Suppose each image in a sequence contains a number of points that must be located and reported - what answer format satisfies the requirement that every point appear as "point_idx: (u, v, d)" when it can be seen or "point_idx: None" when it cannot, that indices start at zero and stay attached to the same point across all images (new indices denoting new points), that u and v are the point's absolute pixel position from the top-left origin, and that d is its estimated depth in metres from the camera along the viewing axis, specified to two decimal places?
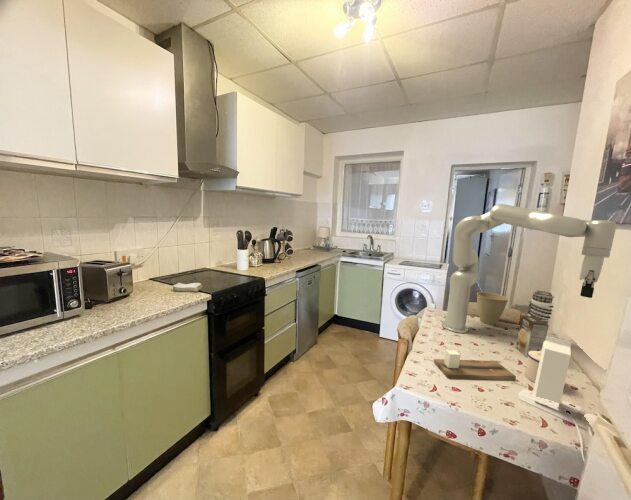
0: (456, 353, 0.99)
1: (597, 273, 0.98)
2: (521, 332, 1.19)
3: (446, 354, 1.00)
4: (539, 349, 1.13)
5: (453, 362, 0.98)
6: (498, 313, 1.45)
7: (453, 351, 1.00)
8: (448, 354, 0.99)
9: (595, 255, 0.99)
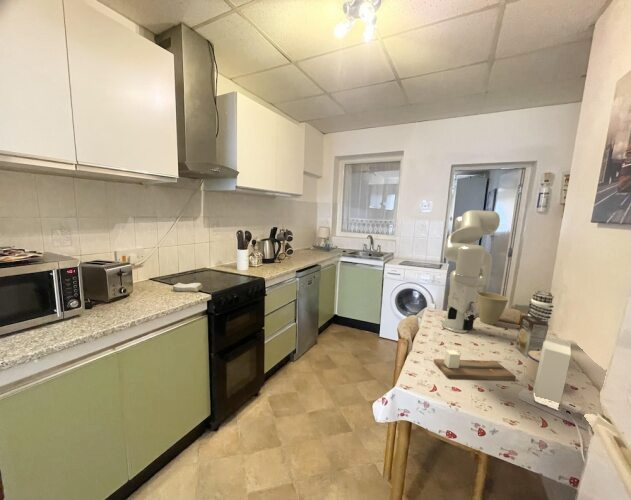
0: (456, 353, 0.99)
1: (475, 304, 0.92)
2: (521, 332, 1.19)
3: (446, 354, 1.00)
4: (539, 349, 1.13)
5: (453, 362, 0.98)
6: (498, 313, 1.45)
7: (453, 351, 1.00)
8: (448, 354, 0.99)
9: (472, 285, 0.92)
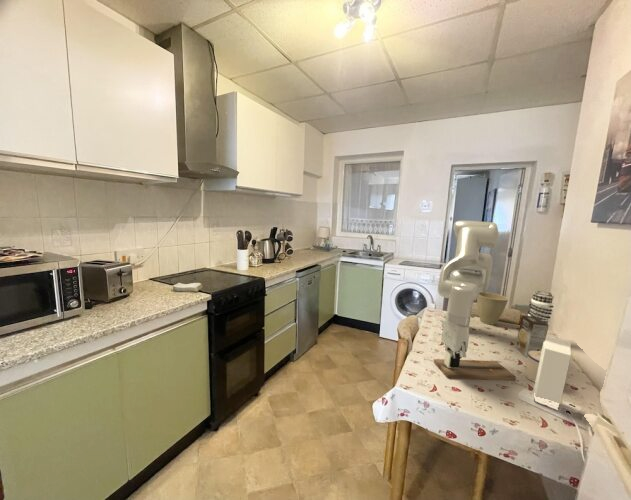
0: (456, 353, 0.99)
1: (467, 344, 0.94)
2: (521, 332, 1.19)
3: (446, 354, 1.00)
4: (539, 349, 1.13)
5: None
6: (498, 313, 1.45)
7: None
8: (448, 354, 0.99)
9: (464, 325, 0.94)
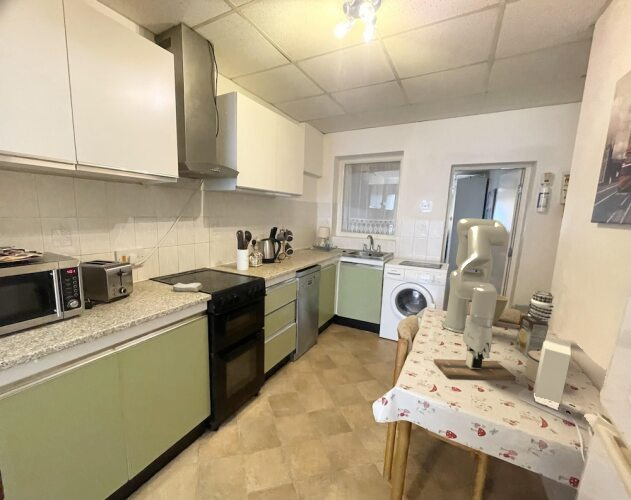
0: None
1: (490, 345, 0.94)
2: (521, 332, 1.19)
3: (468, 355, 1.01)
4: (539, 349, 1.13)
5: None
6: (498, 313, 1.45)
7: None
8: (470, 355, 0.99)
9: (487, 326, 0.94)
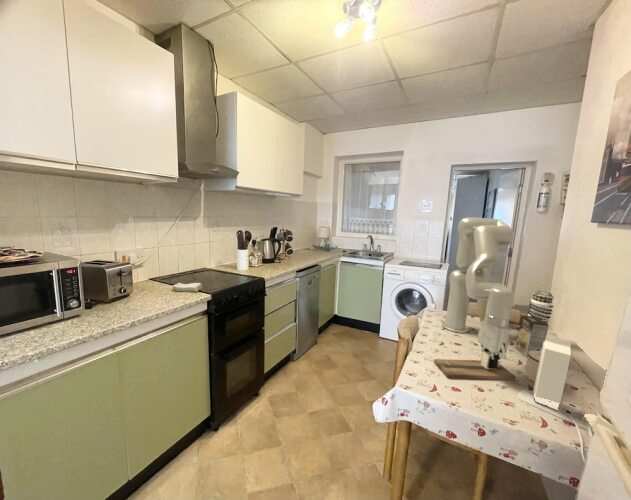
0: None
1: (507, 345, 0.95)
2: (521, 332, 1.19)
3: (483, 355, 1.01)
4: (539, 349, 1.13)
5: None
6: None
7: (490, 352, 1.01)
8: (486, 355, 1.00)
9: (503, 327, 0.95)
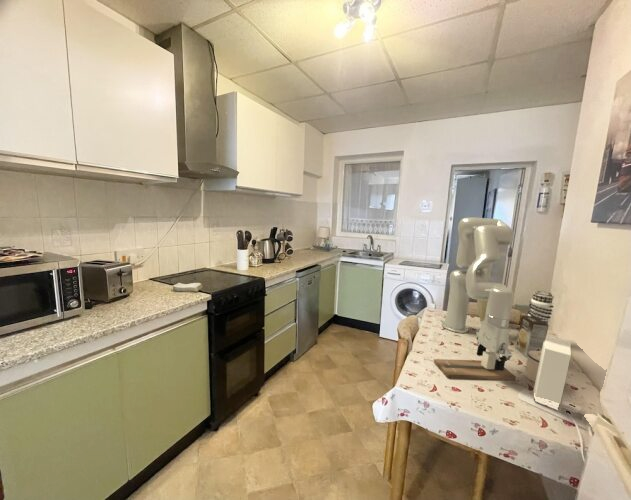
0: (494, 354, 1.00)
1: (507, 345, 0.95)
2: (521, 332, 1.19)
3: (483, 355, 1.01)
4: (539, 349, 1.13)
5: (491, 363, 0.99)
6: None
7: (490, 352, 1.01)
8: (486, 355, 1.00)
9: (504, 327, 0.95)
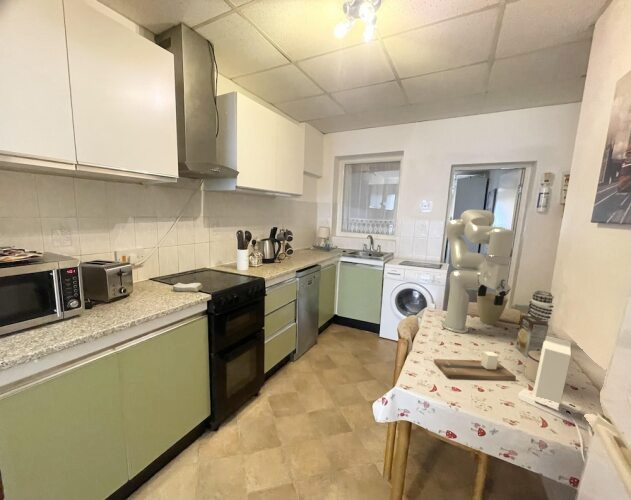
0: (494, 354, 1.00)
1: (506, 281, 1.01)
2: (521, 332, 1.19)
3: (483, 355, 1.01)
4: (539, 349, 1.13)
5: (491, 363, 0.99)
6: (498, 313, 1.45)
7: (490, 352, 1.01)
8: (486, 355, 1.00)
9: (503, 264, 1.00)
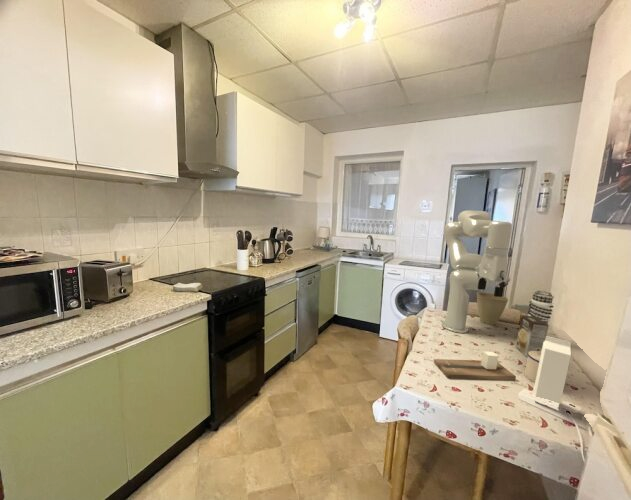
0: (494, 354, 1.00)
1: (505, 273, 1.02)
2: (521, 332, 1.19)
3: (483, 355, 1.01)
4: (539, 349, 1.13)
5: (491, 363, 0.99)
6: (498, 313, 1.45)
7: (490, 352, 1.01)
8: (486, 355, 1.00)
9: (502, 256, 1.02)
